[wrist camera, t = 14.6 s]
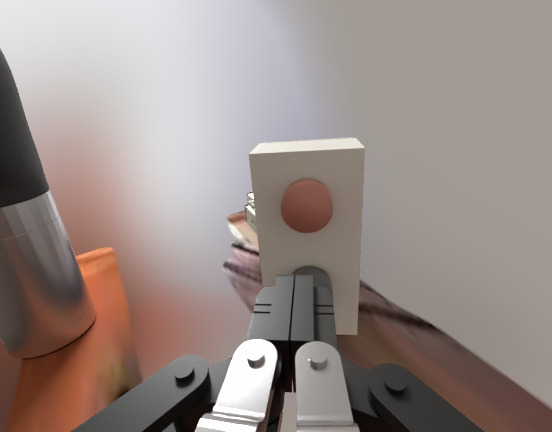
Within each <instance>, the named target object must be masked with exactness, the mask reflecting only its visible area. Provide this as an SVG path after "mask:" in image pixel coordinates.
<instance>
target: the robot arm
mask: <svg viewBox="0 0 552 432" xmlns="http://www.w3.org/2000/svg"><path fill="white" fill-rule="evenodd" d="M95 317H96V310H95V307H94V305H93V302H92V299H91V297H90V294H89V292H88V289H87V286H86V283H85V280H84V278H83V275H82V273H81V270H80V267H79V265H78V262H77V259H76V257H75V254H74V251H73V249H72V246H71V243H70V241H69V238H68V236H67V233H66V230H65V228H64V225H63V222H62V220H61V217H60V214H59V212H58V210H57V207H56V204H55V202H54V199H53V196H52V194H51V191H50V189H49V186H48V183H47V181H46V178H45V175H44V172H43V168H42V165H41V161H40V158H39V155H38V153H37V149H36V147H35V144H34V141H33V138H32V136H31V132H30V129H29V126H28V123H27V120H26V117H25V114H24V110H23V107H22V103H21V100H20V97H19V93H18V90H17V87H16V84H15V81H14V78H13V75H12V73H11V70H10V68H9V66H8V63H7V61H6V59H5V57H4V55H3V53H2V51H1V50H0V338H1V340H2V341H3V343H4V345H5V347H6V349H7V350H8V352H9V354H10V355H12V356H13V357H17V358H31V357H37V356H41V355H44V354H47V353H50V352H52V351H55V350H57V349H60V348H61V347H63V346H65V345H67V344H69V343H70V342H72V341H74V340H75V339H77V338H78V337H79V336H80V335H82V334H83V333H84V332H85V331H86V330H87V329H88V328H89V327H90V326H91V325H92V323H93V322H94V320H95ZM292 380H293V389H294V392H296V399H297V432H484V431H483V430H482V429H480V428H479V427H478V426H477V425H475V424H474V423H473V422H472V421H470V420H469V419H468V418H467V417H465V416H464V415H463V414H462V413H460V412H459V411H458V410H457V409H455V408H454V407H453V406H452V405H451V404H449V403H448V402H447V401H446V400H444V399H443V398H442V397H441V396H439V395H438V394H437V393H436V392H434V391H433V390H432V389H431V388H429V387H428V386H427V385H426V384H424V383H423V382H422V381H421V380H420V379H418V378H417V377H416V376H415V375H413V374H412V373H411V372H409V371H408V370H407V369H405V368H403V367H401V366H398V365H395V364H380V365H377V366H376V367H374V368H373V369H372V370H371V371H370V370H367V369H364V368H361V367H358V366H355V365H353V364H352V363H350V362H349V361H347V360H346V359H345V358H344V357H343V356H342V355H341V353H340V351H339V349H338V345H337V336H336V326H335V317H334V307H333V298H332V294H331V293H330V292H329V290H328V289H327V288H326V287H313V275H296V278H295V275H277V278H276V284H275V287H264V288H263V289H262V290H261V291H260V293H259V294H258V295H257V299H256V303H255V307H254V311H253V315H252V318H251V322H250V326H249V330H248V334H247V337H246V341H245V343H244V344H242V345H241V346H240V347H239V348H238V349H237V350H236V352H235V354H234V356H233V357H232V358H230V359H228V360H225V361H222V362H217V363H213V364H209V365H208V364H207V362H206V360H205V359H204V358H203V357H201V356H198V355H186V356H182V357H179V358H178V359H176V360H174V361H173V362H171V363H170V364H168V365H167V366H165V367H164V368H162V369H161V370H160V371H158V372H157V373H155V374H154V375H152V376H151V377H149V378H148V379H146V380H145V381H144V382H142V383H141V384H139V385H138V386H136V387H135V388H133V389H132V390H130V391H129V392H128V393H126V394H125V395H123V396H122V397H120V398H119V399H117V400H116V401H115V402H113V403H112V404H110V405H109V406H107V407H106V408H104V409H103V410H101V411H100V412H99V413H97V414H96V415H94V416H93V417H91V418H90V419H88V420H87V421H86V422H84V423H83V424H81V425H80V426H78V427H77V428H75V429H74V430H72V431H71V432H280V429H281V423H282V414H283V413H282V409H283V405H284V394H285V392H292Z"/></svg>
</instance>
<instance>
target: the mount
mask: <svg viewBox="0 0 552 432" xmlns="http://www.w3.org/2000/svg"><path fill="white" fill-rule="evenodd" d="M249 160H250V168H251V178H252V188H253V197H254V207H255V216H256V225H257V235H258V244H259V254H260V263H261V273H262V282H263V288H264V287H275V284H276V278H277V275H291V274H292V273H293V272H294V271H295V270H297V269H298V268H301V267H304V266H314V267H318V268H320V269H322V270H324V271H325V272H326V273H327V274H328V275H329V277H330V279H331V283H332V292H333V307H334V317H335V326H336V335H357V326H358V302H359V278H360V254H361V231H362V208H363V183H364V160H365V147H364V146H363V145H361V143H360V142H359V141H358V140H357V139H356V138H355V137H344V138H327V139H309V140H293V141H275V142H261V143H260V144H259V145H258V146H257V147H256V148H255V149H254V150H252V151H251V153H250V154H249ZM303 178H311V179H315V180H318V181H320V182H322V183H323V184H324V185H325V186H326V187H327V188H328V190H329V192H330V194H331V198H332V204H333V214H332V217H331V219H330V221H329V223H328V224H327V225H326V226H325V227H324V228H322V229H321V230H319V231H316V232H313V233H301V232H298V231H295V230H293V229H292V228H290V227H289V226H288V225H287V224H286V223H285V221H284V220H283V217H282V214H281V203H282V200H283V196H284V193H285V191H286V189H287V188H288V187H289V185H291V184H292V183H293V182H295V181H297V180H299V179H303Z"/></svg>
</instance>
